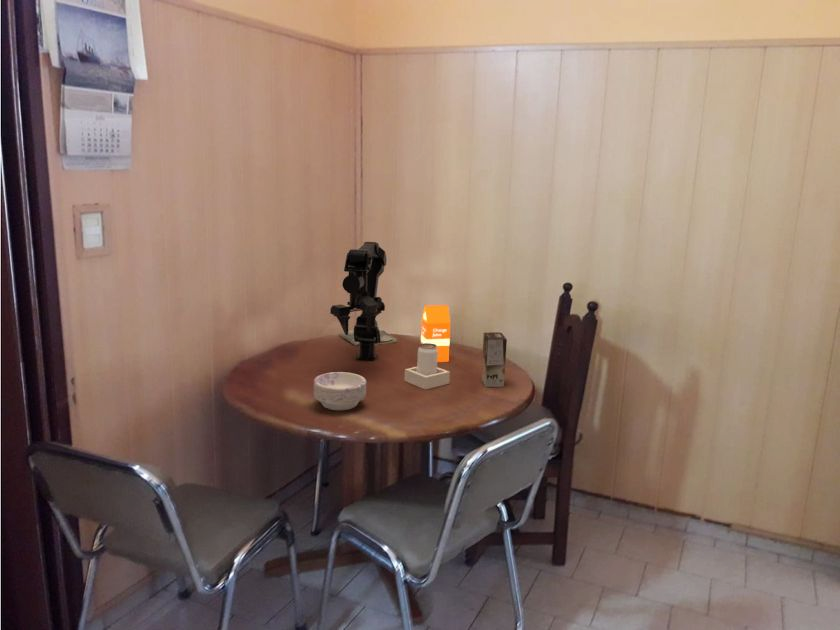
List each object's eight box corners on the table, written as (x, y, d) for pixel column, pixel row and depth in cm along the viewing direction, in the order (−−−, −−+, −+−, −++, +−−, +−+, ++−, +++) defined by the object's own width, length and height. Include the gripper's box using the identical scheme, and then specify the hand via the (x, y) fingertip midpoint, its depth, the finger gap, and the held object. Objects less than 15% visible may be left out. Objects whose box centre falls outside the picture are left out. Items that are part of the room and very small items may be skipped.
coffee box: (504, 387, 222) (507, 339, 218) (484, 387, 221) (487, 339, 218) (498, 378, 231) (501, 332, 227) (480, 378, 230) (482, 331, 227)
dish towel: (355, 348, 262) (356, 340, 261) (338, 337, 277) (338, 329, 276) (399, 344, 270) (399, 336, 270) (379, 333, 286) (380, 325, 285)
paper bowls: (358, 416, 192) (359, 390, 191) (306, 412, 195) (306, 385, 193) (371, 398, 207) (371, 373, 205) (322, 394, 209) (322, 369, 208)
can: (438, 383, 222) (439, 348, 219) (418, 384, 220) (419, 348, 218) (434, 377, 228) (435, 342, 225) (415, 377, 227) (416, 342, 224)
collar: (404, 380, 225) (404, 369, 224) (428, 375, 231) (428, 363, 230) (425, 389, 217) (425, 377, 216) (449, 383, 224) (449, 371, 223)
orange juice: (448, 361, 248) (451, 307, 243) (425, 362, 245) (427, 307, 241) (442, 355, 255) (445, 302, 250) (419, 356, 253) (421, 303, 248)
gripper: (349, 294, 216) (348, 342, 219) (395, 288, 228) (394, 334, 231) (329, 288, 224) (329, 334, 228) (375, 283, 236) (374, 327, 239)
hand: (357, 333), depth 231 cm, fingers open, 9 cm apart
